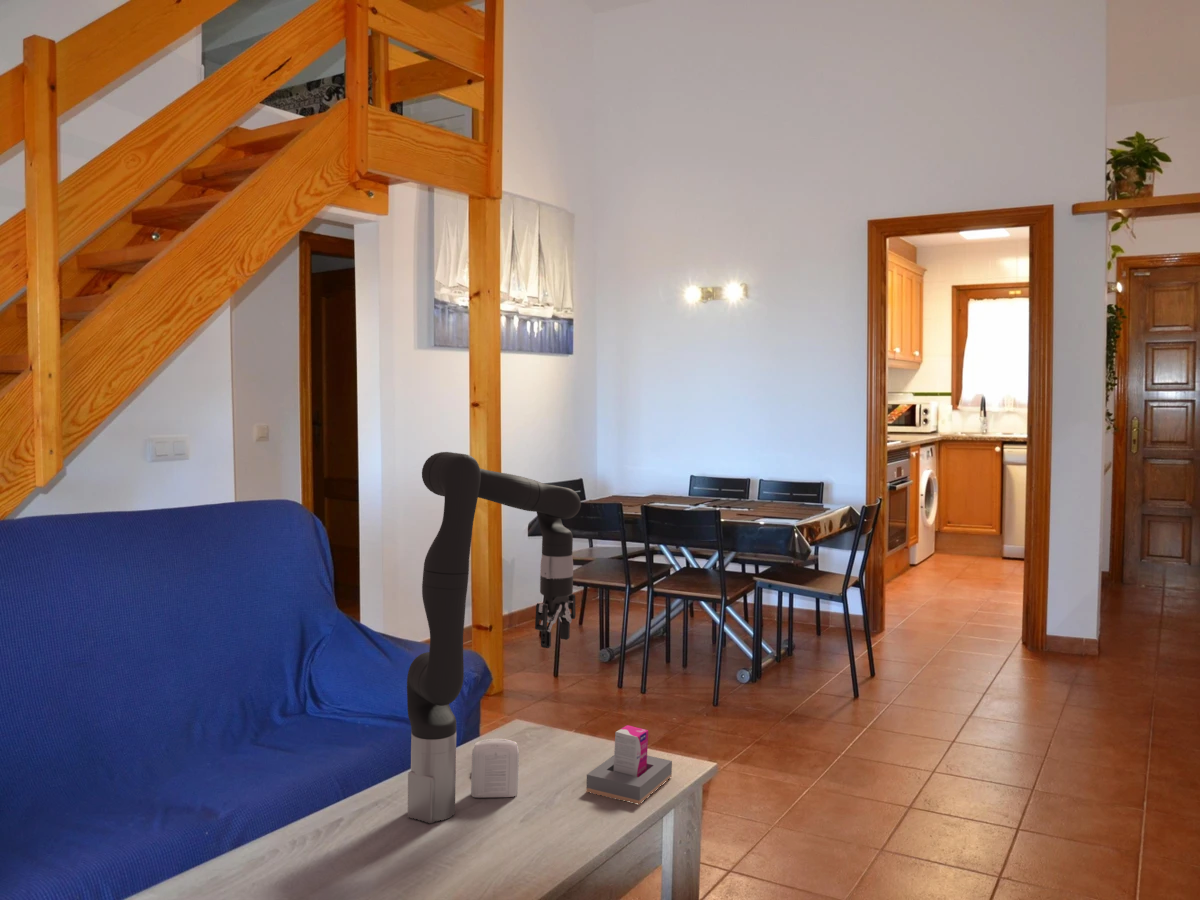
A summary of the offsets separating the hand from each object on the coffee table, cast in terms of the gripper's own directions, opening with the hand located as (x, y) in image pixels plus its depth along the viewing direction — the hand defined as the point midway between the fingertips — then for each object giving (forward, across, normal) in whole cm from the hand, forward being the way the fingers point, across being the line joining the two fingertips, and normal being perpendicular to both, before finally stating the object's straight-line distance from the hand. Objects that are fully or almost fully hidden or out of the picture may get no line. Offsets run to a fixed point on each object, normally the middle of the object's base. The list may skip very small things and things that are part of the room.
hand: (555, 643), depth 224 cm
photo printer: (+30, +18, -4) cm, 35 cm away
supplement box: (+29, -2, +19) cm, 35 cm away
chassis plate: (+30, -2, +19) cm, 36 cm away
